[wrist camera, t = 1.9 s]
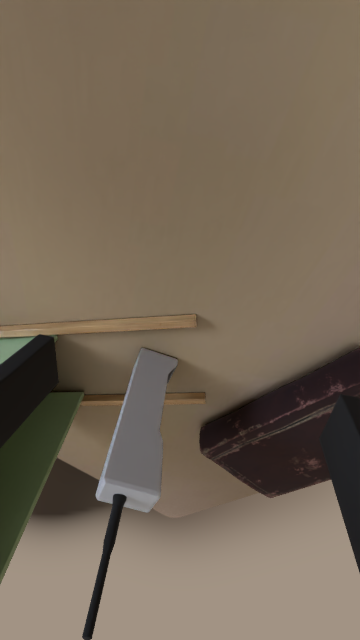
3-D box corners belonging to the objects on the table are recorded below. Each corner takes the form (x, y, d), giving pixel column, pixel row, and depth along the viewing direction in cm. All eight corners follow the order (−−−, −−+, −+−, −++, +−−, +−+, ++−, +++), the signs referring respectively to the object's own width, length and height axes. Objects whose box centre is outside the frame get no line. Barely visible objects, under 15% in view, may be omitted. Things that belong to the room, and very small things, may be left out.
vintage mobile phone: (169, 376, 40) (126, 652, 19) (134, 365, 39) (52, 639, 19) (178, 358, 37) (141, 646, 17) (141, 346, 37) (58, 631, 16)
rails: (-35, 327, 37) (-42, 333, 36) (196, 314, 33) (195, 320, 32) (15, 400, 46) (10, 407, 45) (205, 397, 41) (205, 403, 40)
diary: (198, 422, 45) (197, 453, 41) (356, 341, 34) (376, 372, 30) (269, 472, 52) (274, 503, 48) (420, 419, 40) (444, 453, 36)
